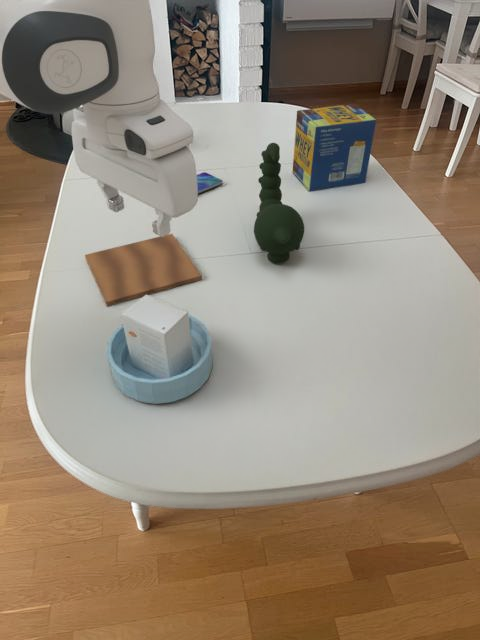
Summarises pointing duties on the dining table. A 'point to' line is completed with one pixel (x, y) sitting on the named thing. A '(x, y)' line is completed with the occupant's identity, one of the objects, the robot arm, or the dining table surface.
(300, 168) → the protein box
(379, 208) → the dining table surface
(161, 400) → the bowl
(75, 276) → the dining table surface
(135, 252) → the brown wooden board
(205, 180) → the smartphone
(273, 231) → the toy figurine
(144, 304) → the small box
